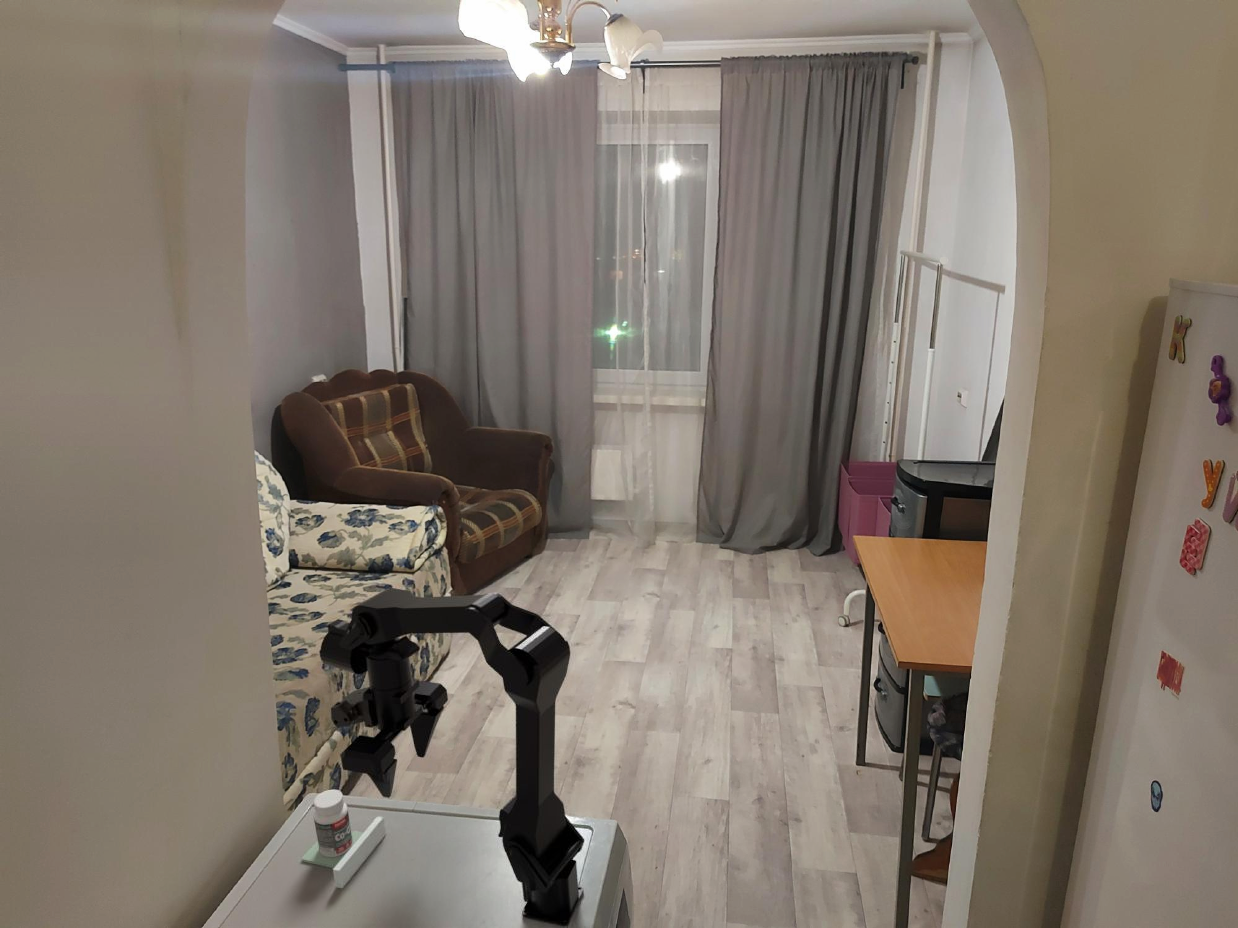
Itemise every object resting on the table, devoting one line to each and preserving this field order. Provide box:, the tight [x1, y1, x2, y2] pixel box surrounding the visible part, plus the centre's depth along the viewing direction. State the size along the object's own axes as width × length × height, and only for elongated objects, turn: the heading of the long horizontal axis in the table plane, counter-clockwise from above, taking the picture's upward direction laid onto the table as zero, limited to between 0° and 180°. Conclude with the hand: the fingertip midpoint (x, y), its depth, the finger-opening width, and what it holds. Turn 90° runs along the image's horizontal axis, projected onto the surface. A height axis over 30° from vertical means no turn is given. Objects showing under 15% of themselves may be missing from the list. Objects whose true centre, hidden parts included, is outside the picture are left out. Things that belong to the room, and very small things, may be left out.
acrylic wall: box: [332, 816, 387, 889], centre depth 123 cm, size 1×11×3 cm, turn 162°
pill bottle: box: [313, 789, 353, 857], centre depth 124 cm, size 5×5×8 cm
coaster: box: [300, 829, 364, 869], centre depth 126 cm, size 7×7×1 cm
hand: (404, 775), depth 122 cm, fingers open, 9 cm apart
